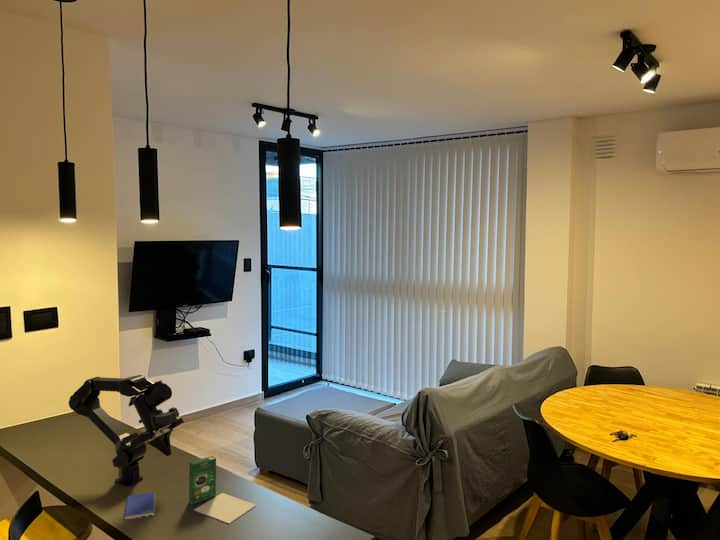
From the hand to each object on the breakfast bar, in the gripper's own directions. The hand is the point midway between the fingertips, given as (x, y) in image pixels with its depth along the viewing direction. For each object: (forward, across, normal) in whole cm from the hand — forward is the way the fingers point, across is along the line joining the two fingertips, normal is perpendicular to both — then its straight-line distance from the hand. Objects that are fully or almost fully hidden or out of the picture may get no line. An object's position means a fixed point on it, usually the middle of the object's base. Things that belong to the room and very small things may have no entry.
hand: (169, 455), depth 177 cm
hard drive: (+10, -11, +8) cm, 17 cm away
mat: (+22, -1, -12) cm, 25 cm away
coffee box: (+17, 0, -4) cm, 18 cm away
